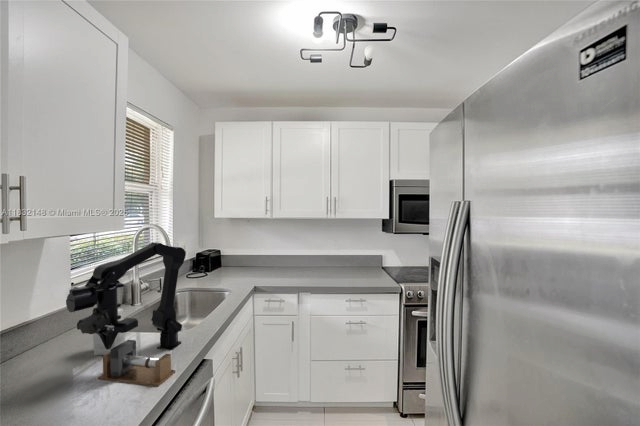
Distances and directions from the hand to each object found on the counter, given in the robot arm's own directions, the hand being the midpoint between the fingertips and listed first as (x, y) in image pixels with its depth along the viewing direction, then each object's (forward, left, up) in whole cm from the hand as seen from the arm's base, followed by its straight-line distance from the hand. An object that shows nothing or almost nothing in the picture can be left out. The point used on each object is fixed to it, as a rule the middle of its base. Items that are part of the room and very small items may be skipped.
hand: (108, 349), depth 101 cm
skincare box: (-13, -13, -8) cm, 20 cm away
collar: (0, +6, -6) cm, 9 cm away
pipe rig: (0, +11, -8) cm, 14 cm away
